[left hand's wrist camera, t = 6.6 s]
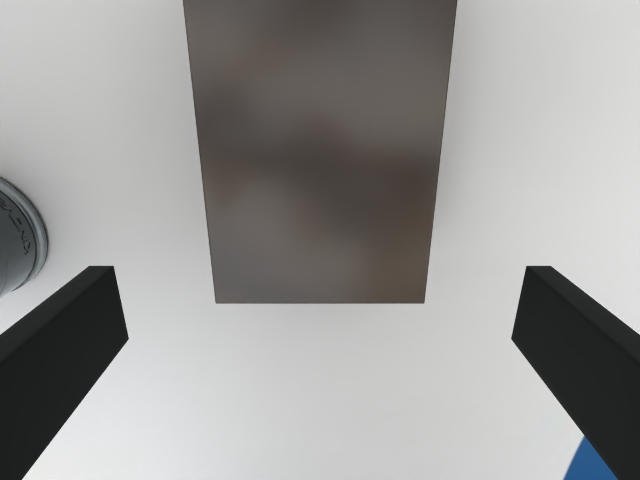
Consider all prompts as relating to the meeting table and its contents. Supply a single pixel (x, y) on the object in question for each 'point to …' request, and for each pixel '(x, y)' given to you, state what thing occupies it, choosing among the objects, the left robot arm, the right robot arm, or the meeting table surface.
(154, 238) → the meeting table surface
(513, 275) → the meeting table surface
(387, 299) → the cabinet
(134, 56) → the meeting table surface
